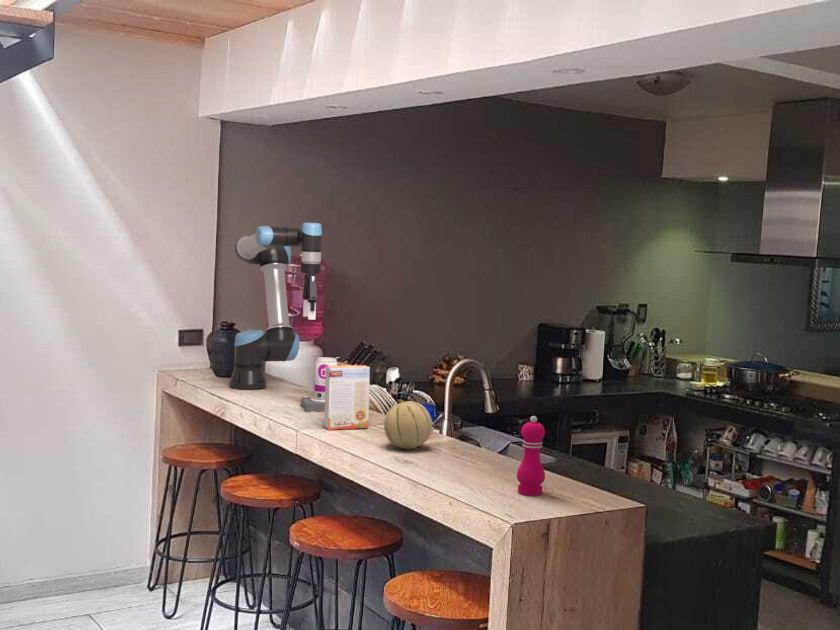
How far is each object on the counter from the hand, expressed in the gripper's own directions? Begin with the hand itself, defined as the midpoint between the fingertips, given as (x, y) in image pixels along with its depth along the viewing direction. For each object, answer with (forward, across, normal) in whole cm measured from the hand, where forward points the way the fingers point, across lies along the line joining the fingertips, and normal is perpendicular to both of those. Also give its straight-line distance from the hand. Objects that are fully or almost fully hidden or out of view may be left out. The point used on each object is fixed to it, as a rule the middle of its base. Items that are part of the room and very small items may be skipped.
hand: (309, 318), depth 374 cm
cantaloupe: (+32, +89, +18) cm, 96 cm away
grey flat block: (+32, +20, +4) cm, 38 cm away
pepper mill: (+32, +143, +37) cm, 151 cm away
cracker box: (+32, +57, +5) cm, 66 cm away
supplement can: (+28, +20, +4) cm, 35 cm away
